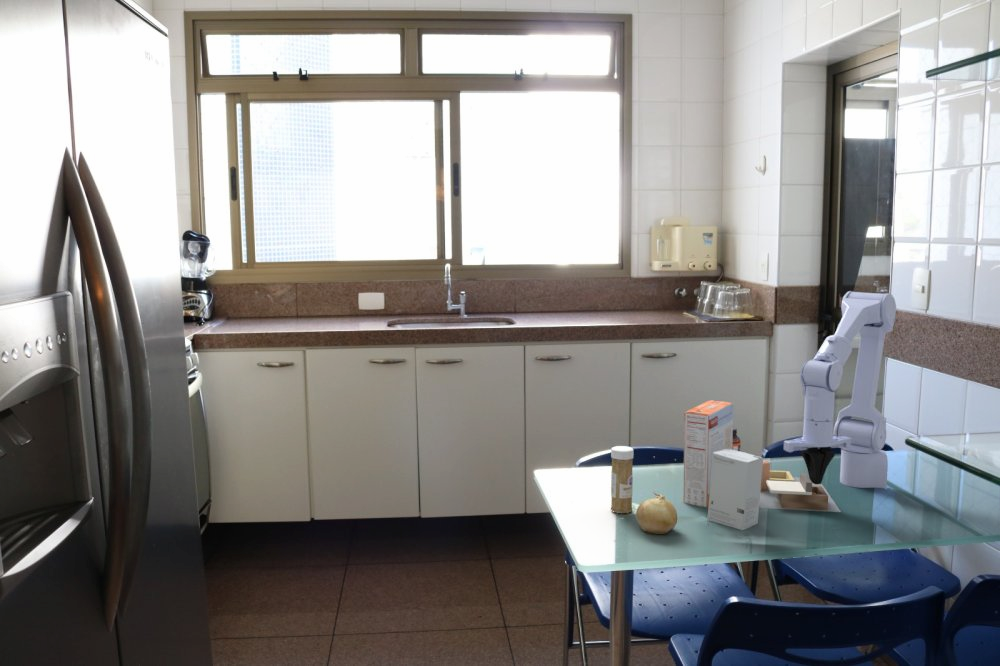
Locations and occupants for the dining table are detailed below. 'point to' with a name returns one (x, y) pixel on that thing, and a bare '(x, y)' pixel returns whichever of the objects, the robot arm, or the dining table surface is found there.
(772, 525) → the dining table surface
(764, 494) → the board
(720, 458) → the skincare box
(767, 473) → the dowel pin
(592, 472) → the dining table surface
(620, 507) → the sprinkles bottle
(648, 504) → the onion
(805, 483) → the lid
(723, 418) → the cracker box
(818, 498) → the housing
